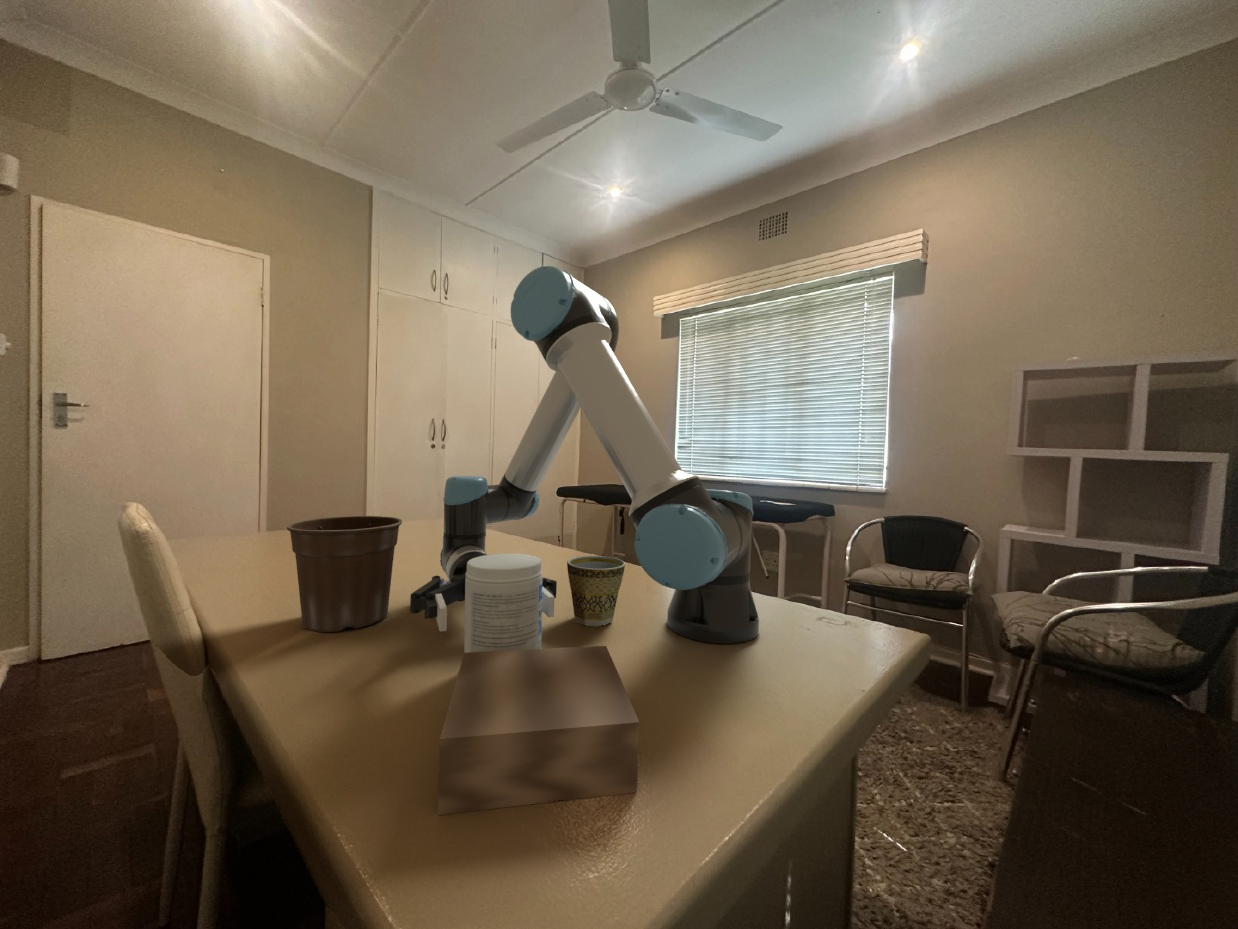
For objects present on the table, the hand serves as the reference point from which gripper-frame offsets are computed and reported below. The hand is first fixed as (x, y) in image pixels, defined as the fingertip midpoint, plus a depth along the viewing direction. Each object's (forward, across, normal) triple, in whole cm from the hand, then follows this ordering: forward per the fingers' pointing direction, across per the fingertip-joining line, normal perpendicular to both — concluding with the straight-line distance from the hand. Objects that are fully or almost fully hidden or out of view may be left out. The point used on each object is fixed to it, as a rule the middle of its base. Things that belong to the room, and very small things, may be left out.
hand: (500, 613), depth 60 cm
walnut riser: (+16, 0, -8) cm, 18 cm away
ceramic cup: (-15, -20, -8) cm, 27 cm away
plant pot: (-29, +19, -8) cm, 35 cm away
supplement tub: (0, 0, -8) cm, 8 cm away
